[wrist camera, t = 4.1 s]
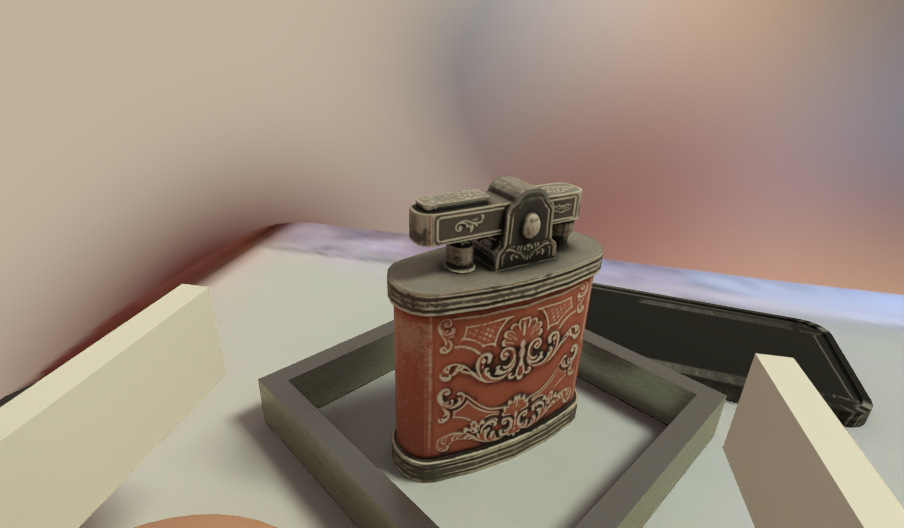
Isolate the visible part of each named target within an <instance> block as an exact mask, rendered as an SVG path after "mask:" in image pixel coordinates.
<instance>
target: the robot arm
mask: <svg viewBox="0 0 904 528" xmlns="http://www.w3.org/2000/svg"><path fill="white" fill-rule="evenodd" d="M225 375H226V370H225V365H224V360H223V355H222V350H221V345H220V340H219V335H218V330H217V325H216V320H215V315H214V310H213V305H212V299H211V294H210V289H209V287H204V286H195V285H187V284H181V285H180V286H179V287H177V288H176V289H174V290H173V291H171V292H170V293H168V294H167V295H165V296H164V297H162V298H161V299H159V300H158V301H156V302H155V303H153V304H152V305H151V306H149V307H148V308H146V309H145V310H143V311H142V312H140V313H139V314H137V315H136V316H134V317H133V318H131V319H130V320H128V321H127V322H125V323H124V324H123V325H121V326H120V327H118V328H117V329H115V330H114V331H112V332H111V333H109V334H108V335H106V336H105V337H103V338H102V339H100V340H99V341H97V342H96V343H95V344H93V345H92V346H90V347H89V348H87V349H86V350H84V351H83V352H81V353H80V354H78V355H77V356H75V357H74V358H72V359H71V360H69V361H68V362H66V363H65V364H64V365H62V366H61V367H59V368H58V369H56V370H55V371H53V372H52V373H50V374H49V375H47V376H46V377H44V378H43V379H41V380H40V381H38V382H36V383H34V384H32V385H30V386H27V387H25V388H23V389H21V390H19V391H16V392H14V393H12V394H10V395H7V396H5V397H4V398H2V399H1V400H0V528H79V527H80V526H81V525H82V524H83V523H84V522H85V521H86V520H87V519H88V518H89V517H90V515H91V514H92V513H93V512H94V511H95V510H96V509H97V508H98V507H99V506H100V505H101V504H102V503H103V502H104V501H105V500H106V499H107V498H108V497H109V496H110V495H111V494H112V493H113V492H114V490H115V489H116V488H117V487H118V486H119V485H120V484H121V483H122V482H123V481H124V480H125V479H126V478H127V477H128V476H129V475H130V474H131V473H132V472H133V471H134V470H135V469H136V468H137V466H138V465H139V464H140V463H141V462H142V461H143V460H144V459H145V458H146V457H147V456H148V455H149V454H150V453H151V452H152V451H153V450H154V449H155V448H156V447H157V446H158V445H159V444H160V442H161V441H162V440H163V439H164V438H165V437H166V436H167V435H168V434H169V433H170V432H171V431H172V430H173V429H174V428H175V427H176V426H177V425H178V424H179V423H180V422H181V421H182V420H183V419H184V417H185V416H186V415H187V414H188V413H189V412H190V411H191V410H192V409H193V408H194V407H195V406H196V405H197V404H198V403H199V402H200V401H201V400H202V399H203V398H204V397H205V396H206V395H207V393H208V392H209V391H210V390H211V389H212V388H213V387H214V386H215V385H216V384H217V383H218V382H219V381H220V380H221V379H222V378H223V377H224V376H225ZM723 449H724V452H725V454H726V457H727V459H728V462H729V464H730V467H731V469H732V472H733V474H734V477H735V479H736V482H737V484H738V487H739V489H740V492H741V494H742V497H743V499H744V501H745V504H746V506H747V509H748V511H749V514H750V516H751V519H752V521H753V524H754V526H755V528H904V508H903V507H902V506H901V504H900V503H899V502H898V500H897V499H896V498H895V496H894V495H893V493H892V492H891V491H890V489H889V488H888V487H887V485H886V484H885V482H884V481H883V480H882V478H881V477H880V476H879V474H878V473H877V472H876V470H875V469H874V467H873V466H872V465H871V463H870V462H869V461H868V459H867V458H866V456H865V455H864V454H863V452H862V451H861V450H860V448H859V447H858V446H857V444H856V443H855V441H854V440H853V439H852V437H851V436H850V435H849V433H848V432H847V430H846V429H845V428H844V426H843V425H842V424H841V422H840V421H839V420H838V418H837V417H836V415H835V414H834V413H833V411H832V410H831V409H830V407H829V406H828V405H827V403H826V402H825V400H824V399H823V398H822V396H821V395H820V394H819V392H818V391H817V389H816V388H815V387H814V385H813V384H812V383H811V381H810V380H809V379H808V377H807V376H806V374H805V373H804V372H803V370H802V369H801V368H800V366H799V365H798V363H797V362H796V361H795V359H794V358H790V357H782V356H774V355H766V354H757V353H755V356H754V359H753V361H752V364H751V367H750V370H749V373H748V376H747V379H746V382H745V385H744V388H743V391H742V394H741V397H740V399H739V402H738V405H737V408H736V411H735V414H734V417H733V420H732V423H731V426H730V429H729V432H728V435H727V437H726V440H725V443H724V446H723Z"/></svg>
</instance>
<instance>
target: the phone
mask: <svg viewBox="0 0 904 528" xmlns="http://www.w3.org/2000/svg"><path fill="white" fill-rule="evenodd" d="M585 329H586V330H588V331H591V332H593V333H595V334H597V335H599V336H601V337H603V338H606V339H608V340H610V341H612V342H614V343H616V344H618V345H620V346H623V347H625V348H627V349H629V350H631V351H633V352H635V353H637V354H640V355H642V356H644V357H646V358H648V359H650V360H652V361H655V362H657V363H659V364H661V365H663V366H665V367H667V368H669V369H672V370H674V371H676V372H678V373H680V374H682V375H684V376H686V377H689V378H691V379H693V380H695V381H697V382H699V383H701V384H703V385H706V386H708V387H710V388H712V389H714V390H716V391H718V392H721V393H723V394H725V395H727V397H726V400H728V401H733V402H737V403H738V402H739V399H740V397H741V394H742V391H743V388H744V385H745V382H746V379H747V376H748V373H749V370H750V367H751V364H752V361H753V359H754V356H755V353H757V354H766V355H774V356H782V357H790V358H794V359H795V361H796V362H797V363H798V365H799V366H800V368H801V369H802V370H803V372H804V373H805V374H806V376H807V377H808V379H809V380H810V381H811V383H812V384H813V385H814V387H815V388H816V389H817V391H818V392H819V394H820V395H821V396H822V398H823V399H824V400H825V402H826V403H827V405H828V406H829V407H830V409H831V410H832V411H833V413H834V414H835V415H836V417H837V418H838V420H839V421H840V422H841V424H842V425H843V426H844V427H851V428H852V427H860V426H862V425H864V424H865V422H866V420H867V418H868V416H869V414H870V412H871V410H872V408H873V404H872V401H871V399H870V398H869V396H868V394H867V393H866V391H865V389H864V388H863V386H862V384H861V383H860V381H859V379H858V378H857V376H856V374H855V373H854V371H853V369H852V368H851V366H850V364H849V363H848V361H847V359H846V358H845V356H844V354H843V353H842V351H841V349H840V348H839V346H838V344H837V343H836V341H835V339H834V338H833V336H832V334H831V333H830V332H829V331H828V330H826V329H825V328H823V327H821V326H819V325H817V324H815V323H812V322H809V321H806V320H801V319H796V318H790V317H785V316H779V315H773V314H767V313H762V312H756V311H750V310H745V309H739V308H733V307H727V306H722V305H716V304H710V303H705V302H699V301H693V300H687V299H682V298H676V297H670V296H665V295H659V294H653V293H648V292H642V291H636V290H631V289H625V288H619V287H613V286H608V285H602V284H596V283H592V288H591V294H590V300H589V306H588V312H587V318H586V324H585Z"/></svg>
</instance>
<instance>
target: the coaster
mask: <svg viewBox="0 0 904 528" xmlns="http://www.w3.org/2000/svg"><path fill="white" fill-rule="evenodd" d="M135 528H276V527H274V526H271V525H269V524H266V523H263V522H261V521H258V520H253V519H249V518H244V517H240V516H231V515H220V514H210V515H190V516H183V517H175V518H169V519H165V520H160V521H156V522H152V523H147V524H144V525H141V526H138V527H135Z"/></svg>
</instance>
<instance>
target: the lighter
mask: <svg viewBox="0 0 904 528" xmlns="http://www.w3.org/2000/svg"><path fill="white" fill-rule="evenodd" d="M581 195H582V189H581V188H579V187H577V186H574V185H571V184H567V183H551V184H545V185H537V186H534V185H531V184H529V183H527V182H524V181H522V180H519V179H517V178H515V177H512V176H504V177H499V178H497V179H496V180H494V181H493V182H492V184H491V185H490V187H489V189H488V191H486V192H485V193H482V192H480V191H478V190H476V189H473V190H466V191H459V192H452V193H445V194H437V195H430V196H423V197H418V198H416V203H414V204H412V205H410V207H409V228H410V229H409V238H410V239H411V240H412V241H413V242H414V243H415V244H417V245H419V246H423V247H434V246H441V245H446V247H443V248H439V249H435V250H432V251H429V252H426V253H422V254H419V255H416V256H412V257H409V258H406V259H403V260H400V261H398V262H396V263H393V264H392V265H391V266H390V268H389V269H388V273H387V284H388V298H389V300H390V301H391V303H392V304H393V305H394V339H395V383H396V425H395V427H394V428H393V430H392V457H393V460H394V463H395V466H396V467H397V468H398V470H399V471H400V472H401V473H402V474H403V475H405V476H406V477H408V478H410V479H411V480H414V481H418V482H422V483H428V482H437V481H441V480H445V479H449V478H453V477H457V476H461V475H465V474H469V473H473V472H477V471H479V470H482V469H485V468H487V467H490V466H493V465H496V464H498V463H501V462H504V461H507V460H509V459H512V458H515V457H516V456H518V455H520V454H522V453H524V452H526V451H528V450H530V449H532V448H533V447H535V446H537V445H539V444H541V443H543V442H545V441H546V440H548V439H549V438H551V437H552V436H553V435H555V434H556V433H558V432H559V431H560V430H562V429H563V428H565V427H566V426H567V425H569V424H570V423H571V422H572V421H573V420H574V418H575V414H576V408H577V402H578V393H577V391H576V389H575V385H576V379H577V373H578V367H579V361H580V355H581V349H582V342H583V336H584V330H585V324H586V318H587V312H588V306H589V300H590V294H591V288H592V282H593V276H594V275H596V274H597V273H598V272H599V271H600V268H601V262H602V256H603V246H602V245H601V244H600V243H599V242H598V241H596V240H594V239H593V238H591V237H588V236H586V235H583V234H579V233H575V232H571V231H572V229H573V225H574V220H575V219H577V218H578V216H579V210H580V203H581Z"/></svg>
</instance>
